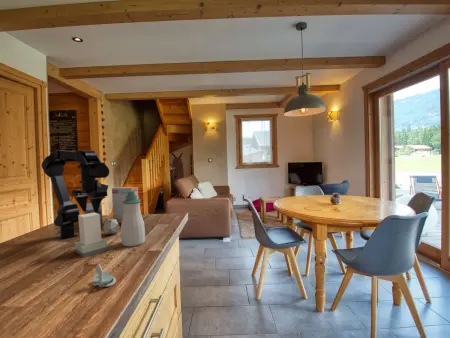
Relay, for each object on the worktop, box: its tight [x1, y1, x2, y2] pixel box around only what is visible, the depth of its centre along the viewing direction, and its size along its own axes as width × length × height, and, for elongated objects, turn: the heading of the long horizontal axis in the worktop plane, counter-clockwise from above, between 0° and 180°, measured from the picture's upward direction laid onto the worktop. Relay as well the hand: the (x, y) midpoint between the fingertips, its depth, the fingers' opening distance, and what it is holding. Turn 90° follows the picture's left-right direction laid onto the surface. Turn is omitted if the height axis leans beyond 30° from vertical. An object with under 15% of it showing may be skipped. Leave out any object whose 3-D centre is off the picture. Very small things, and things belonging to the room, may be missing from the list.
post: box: [78, 213, 102, 246], centre depth 100 cm, size 6×6×11 cm
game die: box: [101, 218, 121, 237], centre depth 122 cm, size 9×8×10 cm
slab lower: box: [74, 245, 109, 258], centre depth 100 cm, size 9×9×2 cm
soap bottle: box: [120, 191, 146, 247], centre depth 108 cm, size 10×10×23 cm
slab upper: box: [74, 238, 108, 253], centre depth 100 cm, size 9×9×2 cm
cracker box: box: [111, 186, 139, 225], centre depth 143 cm, size 14×6×21 cm, turn 71°
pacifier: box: [92, 263, 117, 288], centre depth 73 cm, size 7×6×6 cm
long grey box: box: [84, 202, 104, 226], centre depth 143 cm, size 25×8×11 cm, turn 27°
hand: (90, 212), depth 113 cm, fingers open, 9 cm apart
